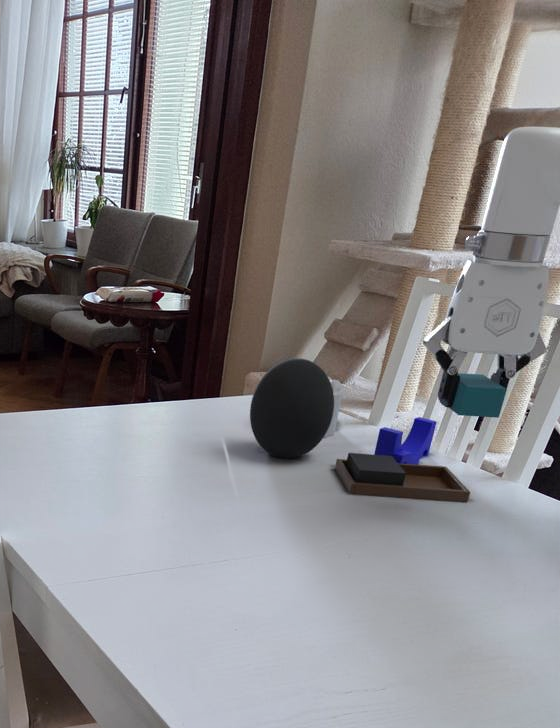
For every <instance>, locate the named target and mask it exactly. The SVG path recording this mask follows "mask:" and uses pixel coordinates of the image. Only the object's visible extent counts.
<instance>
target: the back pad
mask: <svg viewBox="0 0 560 728" xmlns="http://www.w3.org/2000/svg"><path fill="white" fill-rule="evenodd" d="M346 460H347V462H346V469H347V470H348V472H349V474H350V475H351V477H352V478H353V480H354V482H355V483H369V484H383V485H397V486H403V483H404V479H405V475H406V473H405V472H404V470H403V469H402V468H401V467H400V465H399V464H398V463H397V462H396V460H395V459H394V458H393V457H392V456H386V455H374V454H373V453H372V454H371V453H369V454H368V453H356V452H348V453H347V457H346Z"/></svg>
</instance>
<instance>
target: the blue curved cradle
mask: <svg viewBox="0 0 560 728" xmlns="http://www.w3.org/2000/svg"><path fill="white" fill-rule="evenodd" d="M437 423H438V421H437V420H433V419H428V418H425V417H422V416H421V417H420V416H418V417H414V419H413V422H412V425H411V428H410V430H409V432H408V435H407V436H406V438H405V440H404V441H403V434H404V431H402V430H398V429H394V428H390V427H386V426H384V427H381V428H379V431H378V435H377V441H376V445H375V450H374V454H373V455H386V456H392V457H393V458H394V459H395V460H396V462H397V463H403V464H417V465H420V460H421V459H423V457H425V458H426V457H428V456H429V454H430V450H431V446H432V442H433V438H434V434H435V430H436V427H437Z"/></svg>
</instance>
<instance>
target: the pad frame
mask: <svg viewBox="0 0 560 728" xmlns="http://www.w3.org/2000/svg"><path fill="white" fill-rule="evenodd" d="M346 462H347V458H346V459H345V458H344V459H343V458H336V460H335V466H334V470H335V472H336V474H337V475H338V477H339V479H340V480H341V482H342V484H343V485H344V487H345V489H346V490H347V492H348V494H349V495H353V496H354V495H356V496H368V497H369V496H370V497H383V498H398V499H411V500H412V499H413V500H425V501H426V500H427V501H439V502H451V503H454V502H455V503H468V502H469V499H470V496H471V495H470V494H471V491H470V490H469V489H468V488H467V487H466V486H465V485H464V484H463V482H461V481H460V480H459V478H458V477H457V476H456V475H455V474H454V473H453V472H452V471H451V470H450V469H449V468H448V467H447V466H444V465H443V466H442V465H430V464H418V465H417V464H403V463H398V464H399V465H400V467H401V468H402V469H403V470H404V472H405V473H406V475H405V479H404V483H403V486H397V485H383V484H369V483H355V482H354V480H353V478H352V477H351V475H350V474H349V472H348V470H347V469H346Z"/></svg>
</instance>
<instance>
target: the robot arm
mask: <svg viewBox="0 0 560 728" xmlns="http://www.w3.org/2000/svg"><path fill="white" fill-rule="evenodd" d="M559 209H560V127H553V126H520V127H516V128H513V129H512V130H510V132H508V134H507V135H506V136H505V138H504V140H503V143H502V147H501V149H500V153H499V158H498V161H497V166H496V169H495V173H494V177H493V181H492V185H491V189H490V193H489V196H488V201H487V204H486V209H485V213H484V216H483V220H482V222H481V223H482V224H481V229H480V230H478V232H477V235H474V236H468V237H466V239H465V243H464V249H465V250H470V251H471V252H472V255H473V259H467V261H466V263H465V265H464V267H463V270H462V272H461V273H460V277H459V278H458V281H457V283H456V286H455V288H454V291H453V294H452V297H451V299H450V303H449V305H448V309H447V312H446V315H445V319H444V320H443V321H442V322H441V323H440V324H438V326H437V327H435V329H434V330H433V331H431V332H430V333H429V334H428V335H427V336H426V337H425V338H424V339H423V340H422V344H423V346H424V347H425V348H426V350H428V351H429V353H431V355H432V356H433V357H434V359H435V360H436V362H437V363H438V365H439V367H440V368H441V370H443V372H442V376H441V379H440V384H439V387H438V391H437V399H438V398H439V399H440V400H438V401H439V403H440V404H441V405H442V406H444V407H445V408H448V409H450V408H451V407H452V406H453V402H454V398H455V395H456V391H457V387H458V383H459V381H460V376H459V375H457V374H458V373H459V369H460V368H461V367H462V364H463V362H464V360H465V359H466V358H467V355H468V354H469V353H472V354H489V355H497V358H496V359H497V361H496V362H497V369H496V371H495V372H492V374H490V378H489V379H491V380H493V381H494V382H496V383H498V384H499V385H501V386H502V387H504V388H506V389H507V390H508V386H509V384H510V379H513V378H514V377H515V376H516V374H517V373H518V372H520V371H521V370H522V369H524V368H525V367H526V366H528V365H529V364H530V363H531V362H533V361H534V360H536V359H538V358H540V357H541V356H543V355H544V354H546V352H547V347H546V344H545V341H544V339H543V337H542V335H541V332H540V329H541V324H542V320H543V316H544V311H545V305H546V301H547V293H548V286H549V280H550V279H549V278H550V277H549V276H550V266H548V265H544V260H545V257H546V253H547V250H548V246H549V244H550V241H551V240H550V239H551V235H552V232H553V230H554V226H555V223H556V220H557V216H558V213H559ZM441 342H443V343H444V344H446V345H449V346H450V348H449V349H448V351H446V350H445V349H444V348H443V346H441Z"/></svg>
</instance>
